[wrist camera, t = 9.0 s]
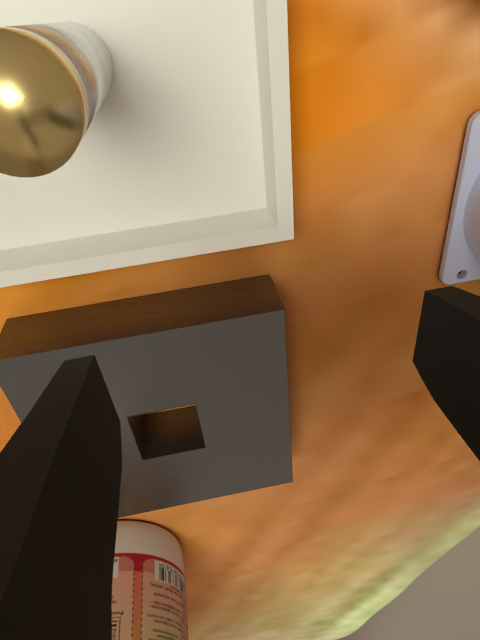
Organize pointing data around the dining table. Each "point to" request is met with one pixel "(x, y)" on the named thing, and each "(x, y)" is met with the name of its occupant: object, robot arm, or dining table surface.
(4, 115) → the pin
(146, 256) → the tray
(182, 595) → the fruit juice
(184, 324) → the block
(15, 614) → the robot arm
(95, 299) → the dining table surface
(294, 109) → the dining table surface
